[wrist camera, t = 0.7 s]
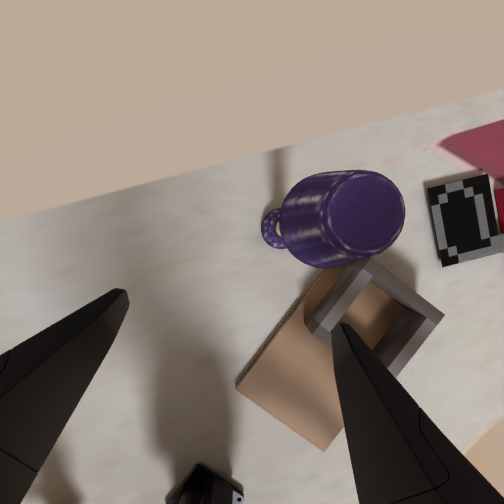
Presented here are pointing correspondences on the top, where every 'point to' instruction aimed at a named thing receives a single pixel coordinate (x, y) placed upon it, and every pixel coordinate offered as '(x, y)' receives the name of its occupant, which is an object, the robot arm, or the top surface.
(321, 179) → the toy lamp
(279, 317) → the top surface
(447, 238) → the red board with handle
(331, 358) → the mount board
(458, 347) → the top surface
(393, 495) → the robot arm
